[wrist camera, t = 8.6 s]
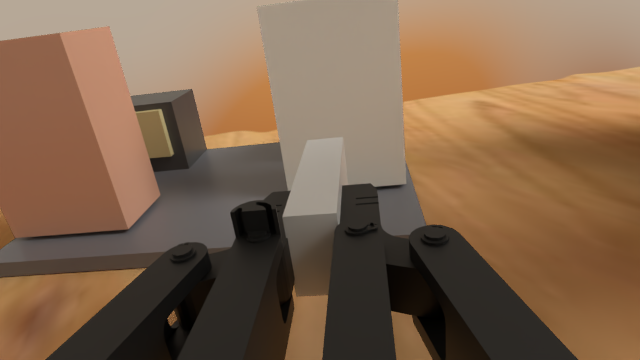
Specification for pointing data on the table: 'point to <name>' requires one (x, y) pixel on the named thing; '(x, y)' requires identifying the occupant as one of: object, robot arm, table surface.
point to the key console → (185, 198)
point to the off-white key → (338, 83)
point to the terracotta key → (69, 137)
